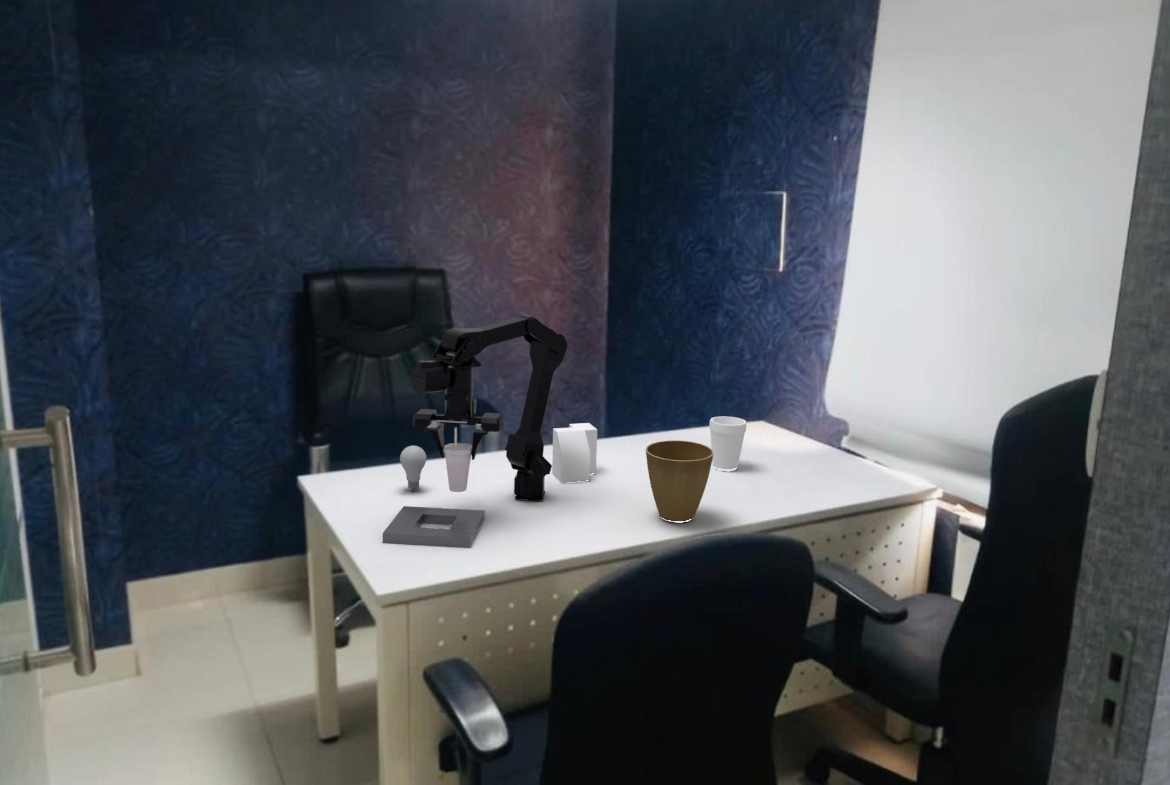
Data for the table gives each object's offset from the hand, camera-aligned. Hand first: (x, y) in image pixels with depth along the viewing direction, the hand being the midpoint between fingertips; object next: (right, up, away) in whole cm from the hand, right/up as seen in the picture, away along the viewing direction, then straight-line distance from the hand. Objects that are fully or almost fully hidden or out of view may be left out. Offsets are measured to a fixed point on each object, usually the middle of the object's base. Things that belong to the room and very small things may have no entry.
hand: (458, 458), depth 195 cm
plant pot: (+48, -14, +6) cm, 50 cm away
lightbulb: (-13, -9, +19) cm, 25 cm away
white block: (+25, -7, +34) cm, 43 cm away
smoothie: (0, -7, +2) cm, 7 cm away
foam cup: (+65, -6, +43) cm, 78 cm away
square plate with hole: (-4, -15, -5) cm, 16 cm away
